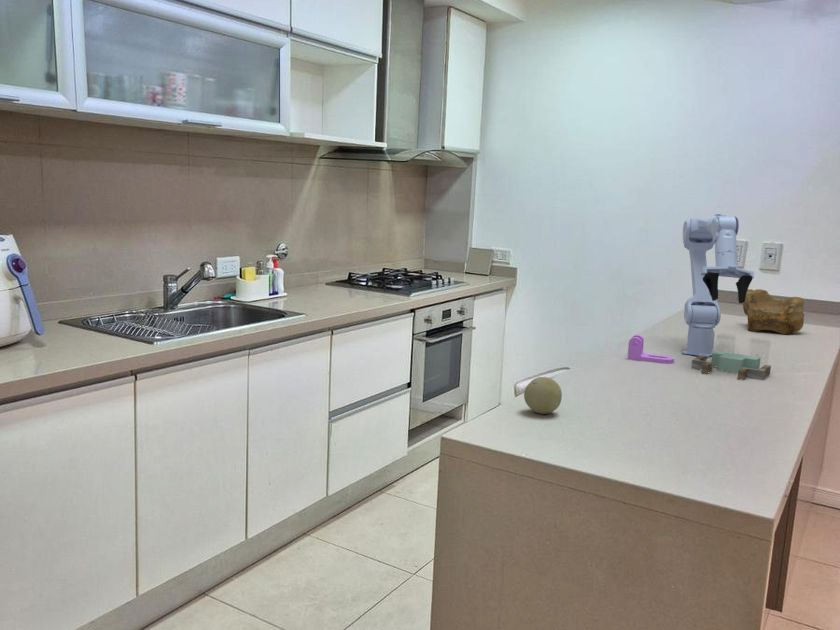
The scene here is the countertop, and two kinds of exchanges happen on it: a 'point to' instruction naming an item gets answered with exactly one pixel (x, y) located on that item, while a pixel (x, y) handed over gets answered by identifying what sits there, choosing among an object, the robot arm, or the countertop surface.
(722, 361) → the t slider
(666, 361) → the bracket
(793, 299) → the rough brown rock
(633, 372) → the countertop surface
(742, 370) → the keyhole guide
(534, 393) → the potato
